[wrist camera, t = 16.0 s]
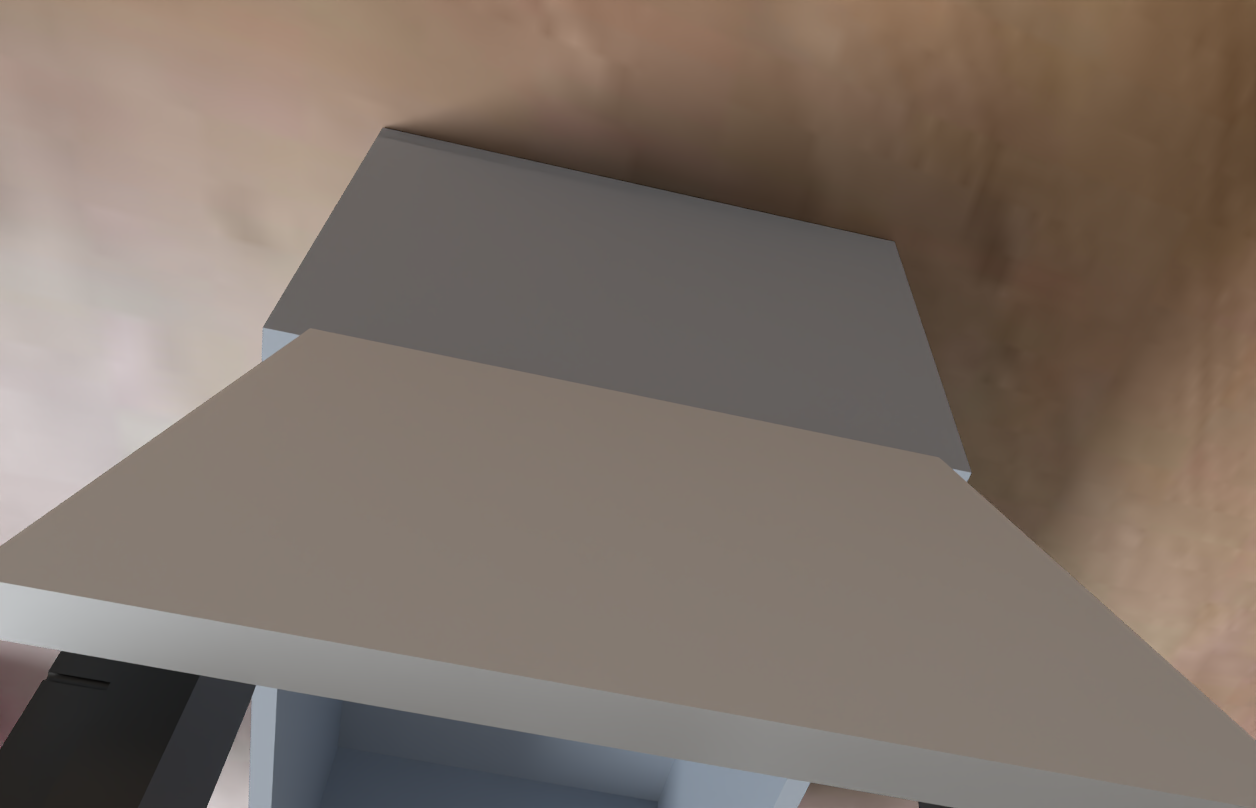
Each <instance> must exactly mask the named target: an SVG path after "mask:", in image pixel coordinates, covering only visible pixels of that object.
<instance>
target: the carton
mask: <svg viewBox="0 0 1256 808" xmlns="http://www.w3.org/2000/svg"><path fill="white" fill-rule="evenodd" d="M310 328H312V329H317V330H322V331H327V332H332V333H336V334H341V335H346V336H351V337H356V338H361V339H366V340H370V341H375V342H380V343H385V344H390V345H395V346H400V347H404V348H409V349H414V350H419V351H424V352H429V353H434V354H439V355H443V356H448V357H453V358H458V359H463V360H468V361H473V362H477V363H482V364H487V365H492V366H497V367H502V368H507V369H512V370H516V371H521V372H526V373H531V374H536V375H541V376H546V377H550V378H555V379H560V380H565V381H570V382H575V383H580V384H584V385H589V386H594V387H599V388H604V389H609V390H614V391H619V392H623V393H628V394H633V395H638V396H643V397H648V398H653V399H657V400H662V401H667V402H672V403H677V404H682V405H687V406H691V407H696V408H701V409H706V410H711V411H716V412H721V413H726V414H730V415H735V416H740V417H745V418H750V419H755V420H760V421H764V422H769V423H774V424H779V425H784V426H789V427H794V428H799V429H803V430H808V431H813V432H818V433H823V434H828V435H833V436H837V437H842V438H847V439H852V440H857V441H862V442H867V443H871V444H876V445H881V446H886V447H891V448H896V449H901V450H906V451H910V452H915V453H920V454H925V455H930V456H935V457H939V458H940V459H942V460H943V461H944V462H945V463H946V464H947V465H948V466H949V467H951V468H952V469H953V470H954V471H955V472H956V473H957V474H958V475H960V476H961V477H962V478H963V479H964V480H965V481H966V482H967V481H968V479H969V477H970V475H971V473H972V472H971V469H970V466H969V463H968V460H967V457H966V454H965V451H964V448H963V445H962V442H961V439H960V436H959V433H958V430H957V427H956V424H955V421H954V418H953V415H952V412H951V409H950V406H949V403H948V400H947V397H946V394H945V391H944V388H943V385H942V382H941V379H940V376H939V373H938V370H937V367H936V364H935V361H934V358H933V355H932V352H931V349H930V346H929V343H928V340H927V337H926V334H925V331H924V328H923V325H922V322H921V319H920V316H919V313H918V310H917V307H916V304H915V301H914V298H913V295H912V292H911V289H910V286H909V283H908V280H907V277H906V275H905V272H904V269H903V266H902V263H901V260H900V257H899V254H898V251H897V248H896V245H895V242H893V241H889V240H885V239H880V238H876V237H871V236H867V235H862V234H858V233H853V232H849V231H844V230H840V229H835V228H831V227H826V226H822V225H817V224H813V223H808V222H804V221H799V220H795V219H790V218H786V217H781V216H777V215H772V214H768V213H764V212H759V211H755V210H750V209H746V208H741V207H737V206H732V205H728V204H723V203H719V202H714V201H710V200H705V199H701V198H696V197H692V196H687V195H683V194H678V193H674V192H669V191H665V190H660V189H656V188H652V187H647V186H643V185H638V184H634V183H629V182H625V181H620V180H616V179H611V178H607V177H602V176H598V175H593V174H589V173H584V172H580V171H575V170H571V169H566V168H562V167H557V166H553V165H548V164H544V163H539V162H535V161H531V160H526V159H522V158H517V157H513V156H508V155H504V154H499V153H495V152H490V151H486V150H481V149H477V148H472V147H468V146H463V145H459V144H454V143H450V142H445V141H441V140H436V139H432V138H427V137H423V136H419V135H414V134H410V133H405V132H401V131H396V130H392V129H387V128H382V130H381V131H380V133H379V135H378V136H377V138H376V140H375V141H374V143H373V145H372V146H371V148H370V150H369V151H368V153H367V155H366V156H365V158H364V160H363V161H362V163H361V165H360V166H359V168H358V170H357V171H356V173H355V175H354V176H353V178H352V180H351V181H350V183H349V185H348V186H347V188H346V190H345V191H344V193H343V195H342V196H341V198H340V200H339V201H338V203H337V205H336V206H335V208H334V210H333V211H332V213H331V215H330V216H329V218H328V220H327V221H326V223H325V225H324V226H323V228H322V230H321V231H320V233H319V235H318V236H317V238H316V240H315V241H314V243H313V245H312V246H311V248H310V250H309V251H308V253H307V255H306V256H305V258H304V260H303V261H302V263H301V265H300V266H299V268H298V270H297V271H296V273H295V275H294V276H293V278H292V280H291V281H290V283H289V285H288V286H287V288H286V290H285V291H284V293H283V295H282V296H281V298H280V300H279V301H278V303H277V305H276V306H275V308H274V310H273V311H272V313H271V315H270V316H269V318H268V320H267V321H266V323H265V325H264V326H263V337H262V362H263V361H264V360H266V359H267V358H268V357H270V356H271V355H273V354H274V353H276V352H277V351H278V350H280V349H281V348H283V347H284V346H285V345H287V344H288V343H290V342H291V341H293V340H294V339H295V338H297V337H298V336H300V335H301V334H302V333H304V332H305V331H307V330H308V329H310ZM809 784H810V782H805V781H799V780H793V779H788V778H782V777H776V776H771V775H765V774H759V773H754V772H748V771H742V770H737V769H731V768H725V767H720V766H714V765H708V764H702V763H697V762H691V761H685V760H680V759H674V758H668V757H663V756H657V755H651V754H646V753H640V752H634V751H629V750H623V749H617V748H611V747H606V746H600V745H594V744H589V743H583V742H577V741H572V740H566V739H560V738H555V737H549V736H543V735H538V734H532V733H526V732H520V731H515V730H509V729H503V728H498V727H492V726H486V725H481V724H475V723H469V722H464V721H458V720H452V719H447V718H441V717H435V716H429V715H424V714H418V713H412V712H407V711H401V710H395V709H390V708H384V707H378V706H373V705H367V704H361V703H355V702H350V701H344V700H338V699H333V698H327V697H321V696H316V695H310V694H304V693H299V692H293V691H287V690H282V689H276V688H270V687H264V686H259V685H256V687H255V690H254V693H253V695H252V708H251V742H250V776H249V808H797V807H798V805H799V803H800V802H801V800H802V798H803V796H804V794H805V792H806V790H807V788H808V786H809Z"/></svg>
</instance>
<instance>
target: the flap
mask: <svg viewBox="0 0 1256 808" xmlns="http://www.w3.org/2000/svg"><path fill="white" fill-rule="evenodd" d="M0 640H3V641H9V642H14V643H20V644H26V645H31V646H37V647H43V648H48V649H54V650H60V651H65V652H71V653H77V654H82V655H88V656H94V657H100V658H105V659H111V660H117V661H122V662H128V663H134V664H139V665H145V666H151V667H156V668H162V669H168V670H173V671H179V672H185V673H191V674H196V675H202V676H208V677H213V678H219V679H225V680H230V681H236V682H242V683H247V684H253V685H259V686H264V687H270V688H276V689H282V690H287V691H293V692H299V693H304V694H310V695H316V696H321V697H327V698H333V699H338V700H344V701H350V702H355V703H361V704H367V705H373V706H378V707H384V708H390V709H395V710H401V711H407V712H412V713H418V714H424V715H429V716H435V717H441V718H447V719H452V720H458V721H464V722H469V723H475V724H481V725H486V726H492V727H498V728H503V729H509V730H515V731H520V732H526V733H532V734H538V735H543V736H549V737H555V738H560V739H566V740H572V741H577V742H583V743H589V744H594V745H600V746H606V747H611V748H617V749H623V750H629V751H634V752H640V753H646V754H651V755H657V756H663V757H668V758H674V759H680V760H685V761H691V762H697V763H702V764H708V765H714V766H720V767H725V768H731V769H737V770H742V771H748V772H754V773H759V774H765V775H771V776H776V777H782V778H788V779H793V780H799V781H805V782H811V783H816V784H822V785H828V786H833V787H839V788H845V789H850V790H856V791H862V792H867V793H873V794H879V795H884V796H890V797H896V798H902V799H907V800H913V801H919V802H924V803H930V804H936V805H941V806H947V807H953V808H1256V740H1255V739H1254V738H1252V737H1251V736H1250V735H1249V734H1248V733H1247V732H1246V731H1245V730H1243V729H1242V728H1241V727H1240V726H1239V725H1238V724H1237V723H1236V722H1235V721H1233V720H1232V719H1231V718H1230V717H1229V716H1228V715H1227V714H1226V713H1224V712H1223V711H1222V710H1221V709H1220V708H1219V707H1218V706H1217V705H1216V704H1214V703H1213V702H1212V701H1211V700H1210V699H1209V698H1208V697H1207V696H1205V695H1204V694H1203V693H1202V692H1201V691H1200V690H1199V689H1198V688H1197V687H1195V686H1194V685H1193V684H1192V683H1191V682H1190V681H1189V680H1188V679H1186V678H1185V677H1184V676H1183V675H1182V674H1181V673H1180V672H1179V671H1178V670H1176V669H1175V668H1174V667H1173V666H1172V665H1171V664H1170V663H1169V662H1167V661H1166V660H1165V659H1164V658H1163V657H1162V656H1161V655H1160V654H1159V653H1157V652H1156V651H1155V650H1154V649H1153V648H1152V647H1151V646H1150V645H1148V644H1147V643H1146V642H1145V641H1144V640H1143V639H1142V638H1141V637H1140V636H1138V635H1137V634H1136V633H1135V632H1134V631H1133V630H1132V629H1131V628H1129V627H1128V626H1127V625H1126V624H1125V623H1124V622H1123V621H1122V620H1120V619H1119V618H1118V617H1117V616H1116V615H1115V614H1114V613H1113V612H1112V611H1110V610H1109V609H1108V608H1107V607H1106V606H1105V605H1104V604H1103V603H1101V602H1100V601H1099V600H1098V599H1097V598H1096V597H1095V596H1094V595H1093V594H1091V593H1090V592H1089V591H1088V590H1087V589H1086V588H1085V587H1084V586H1082V585H1081V584H1080V583H1079V582H1078V581H1077V580H1076V579H1075V578H1074V577H1072V576H1071V575H1070V574H1069V573H1068V572H1067V571H1066V570H1065V569H1063V568H1062V567H1061V566H1060V565H1059V564H1058V563H1057V562H1056V561H1055V560H1053V559H1052V558H1051V557H1050V556H1049V555H1048V554H1047V553H1046V552H1044V551H1043V550H1042V549H1041V548H1040V547H1039V546H1038V545H1037V544H1036V543H1034V542H1033V541H1032V540H1031V539H1030V538H1029V537H1028V536H1027V535H1025V534H1024V533H1023V532H1022V531H1021V530H1020V529H1019V528H1018V527H1017V526H1015V525H1014V524H1013V523H1012V522H1011V521H1010V520H1009V519H1008V518H1006V517H1005V516H1004V515H1003V514H1002V513H1001V512H1000V511H999V510H998V509H996V508H995V507H994V506H993V505H992V504H991V503H990V502H989V501H987V500H986V499H985V498H984V497H983V496H982V495H981V494H980V493H979V492H977V491H976V490H975V489H974V488H973V487H972V486H971V485H970V484H968V483H967V482H966V481H965V480H964V479H963V478H962V477H961V476H960V475H958V474H957V473H956V472H955V471H954V470H953V469H952V468H951V467H949V466H948V465H947V464H946V463H945V462H944V461H943V460H942V459H940V458H939V457H935V456H930V455H925V454H920V453H915V452H910V451H906V450H901V449H896V448H891V447H886V446H881V445H876V444H871V443H867V442H862V441H857V440H852V439H847V438H842V437H837V436H833V435H828V434H823V433H818V432H813V431H808V430H803V429H799V428H794V427H789V426H784V425H779V424H774V423H769V422H764V421H760V420H755V419H750V418H745V417H740V416H735V415H730V414H726V413H721V412H716V411H711V410H706V409H701V408H696V407H691V406H687V405H682V404H677V403H672V402H667V401H662V400H657V399H653V398H648V397H643V396H638V395H633V394H628V393H623V392H619V391H614V390H609V389H604V388H599V387H594V386H589V385H584V384H580V383H575V382H570V381H565V380H560V379H555V378H550V377H546V376H541V375H536V374H531V373H526V372H521V371H516V370H512V369H507V368H502V367H497V366H492V365H487V364H482V363H477V362H473V361H468V360H463V359H458V358H453V357H448V356H443V355H439V354H434V353H429V352H424V351H419V350H414V349H409V348H404V347H400V346H395V345H390V344H385V343H380V342H375V341H370V340H366V339H361V338H356V337H351V336H346V335H341V334H336V333H332V332H327V331H322V330H317V329H312V328H310V329H308V330H307V331H305V332H304V333H302V334H301V335H300V336H298V337H297V338H295V339H294V340H293V341H291V342H290V343H288V344H287V345H285V346H284V347H283V348H281V349H280V350H278V351H277V352H276V353H274V354H273V355H271V356H270V357H268V358H267V359H266V360H264V361H263V362H261V363H260V364H258V365H257V366H256V367H254V368H253V369H251V370H250V371H249V372H247V373H246V374H244V375H243V376H241V377H240V378H239V379H237V380H236V381H234V382H233V383H231V384H230V385H229V386H227V387H226V388H224V389H223V390H222V391H220V392H219V393H217V394H216V395H214V396H213V397H212V398H210V399H209V400H207V401H206V402H204V403H203V404H202V405H200V406H199V407H197V408H196V409H195V410H193V411H192V412H190V413H189V414H187V415H186V416H185V417H183V418H182V419H180V420H179V421H177V422H176V423H175V424H173V425H172V426H170V427H169V428H168V429H166V430H165V431H163V432H162V433H160V434H159V435H158V436H156V437H155V438H153V439H152V440H151V441H149V442H148V443H146V444H145V445H143V446H142V447H141V448H139V449H138V450H136V451H135V452H133V453H132V454H131V455H129V456H128V457H126V458H125V459H124V460H122V461H121V462H119V463H118V464H116V465H115V466H114V467H112V468H111V469H109V470H108V471H106V472H105V473H104V474H102V475H101V476H99V477H98V478H97V479H95V480H94V481H92V482H91V483H89V484H88V485H87V486H85V487H84V488H82V489H81V490H79V491H78V492H77V493H75V494H74V495H72V496H71V497H70V498H68V499H67V500H65V501H64V502H62V503H61V504H60V505H58V506H57V507H55V508H54V509H52V510H51V511H50V512H48V513H47V514H45V515H44V516H43V517H41V518H40V519H38V520H37V521H35V522H34V523H33V524H31V525H30V526H28V527H27V528H26V529H24V530H23V531H21V532H20V533H18V534H17V535H16V536H14V537H13V538H11V539H10V540H8V541H7V542H6V543H4V544H3V545H1V546H0Z"/></svg>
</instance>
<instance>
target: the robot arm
mask: <svg viewBox="0 0 1256 808" xmlns="http://www.w3.org/2000/svg"><path fill="white" fill-rule="evenodd" d="M255 687H256V685H253V684H247V683H242V682H236V681H230V680H225V679H219V678H213V677H208V676H202V675H196V674H191V673H185V672H179V671H173V670H168V669H162V668H156V667H151V666H145V665H139V664H134V663H128V662H122V661H117V660H111V659H105V658H100V657H94V656H88V655H82V654H77V653H71V652H65V651H61V652H60V654H59V655H58V657H57V659H56V660H55V662H54V663H53V665H52V667H51V668H50V670H49V672H48V677H47V679H46V681H45V680H43V681H42V683H41V684H40V686H39V688H38V689H37V691H36V692H35V694H34V696H33V697H32V699H31V701H30V702H29V704H28V705H27V707H26V709H25V710H24V712H23V713H22V715H21V717H20V718H19V720H18V721H17V723H16V725H15V726H14V728H13V730H12V731H11V733H10V734H9V736H8V738H7V739H6V741H5V742H4V744H3V746H2V747H1V749H0V808H207V805H208V803H209V800H210V798H211V795H212V793H213V791H214V788H215V786H216V783H217V781H218V778H219V776H220V773H221V771H222V769H223V766H224V764H225V761H226V759H227V756H228V754H229V751H230V749H231V747H232V744H233V742H234V739H235V737H236V734H237V732H238V729H239V727H240V725H241V722H242V720H243V717H244V715H245V712H246V710H247V707H248V705H249V703H250V700H251V698H252V695H253V693H254V690H255ZM918 803H919V808H953V807H947V806H941V805H936V804H930V803H924V802H919V801H918Z"/></svg>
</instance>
